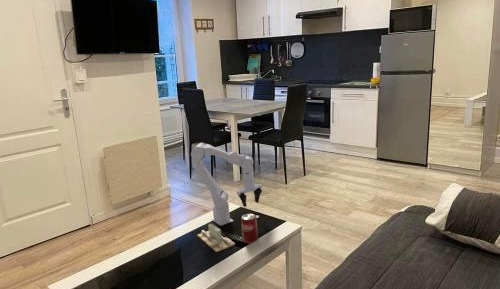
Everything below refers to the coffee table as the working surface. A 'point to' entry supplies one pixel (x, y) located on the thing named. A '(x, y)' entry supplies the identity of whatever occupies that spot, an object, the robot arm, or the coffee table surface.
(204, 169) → the robot arm
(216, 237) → the door panel
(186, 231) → the coffee table surface
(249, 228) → the soda can
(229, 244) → the door track
